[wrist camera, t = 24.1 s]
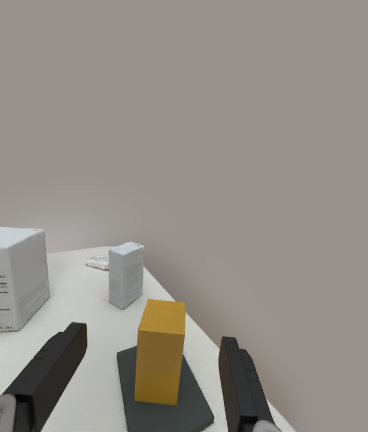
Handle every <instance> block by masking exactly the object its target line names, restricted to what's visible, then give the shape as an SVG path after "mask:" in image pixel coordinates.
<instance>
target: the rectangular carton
mask: <svg viewBox="0 0 368 432" xmlns="http://www.w3.org/2000/svg"><path fill="white" fill-rule="evenodd" d="M49 297H50V292H49V280H48V268H47V257H46V245H45V234H44V229H25V228H10V227H0V331H19V330H20V329H21V328H22V327H23V326H24V325H25V324H26V322H27V321H28V320H29V319H30V318H31V317H32V316H33V315H34V313H35V312H36V311H37V310H38V309H39V308H40V307H41V306H42V304H43V303H44V302H45V301H46V300H47V299H48V298H49Z"/></svg>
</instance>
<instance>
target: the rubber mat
mask: <svg viewBox="0 0 368 432" xmlns="http://www.w3.org/2000/svg"><path fill="white" fill-rule="evenodd" d="M136 360H137V346H135V347H132V348H129V349H126V350H123V351H120V352H118V353H117V361H118V368H119V375H120V381H121V388H122V395H123V402H124V408H125V415H126V422H127V429H128V432H200V431H201V430H203V429H204V428H206V427H207V426H209V425H210V424H212V423H213V421H214V415H213V413H212V411H211V409H210V407H209V405H208V403H207V401H206V399H205V397H204V395H203V393H202V391H201V389H200V387H199V385H198V383H197V381H196V379H195V377H194V375H193V373H192V371H191V369H190V367H189V365H188V363H187V361H186V359H185V357H184V355H182V363H181V372H180V380H179V389H178V398H177V405H168V404H158V403H148V402H139V401H134V400H135V380H136Z"/></svg>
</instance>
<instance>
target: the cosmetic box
mask: <svg viewBox="0 0 368 432" xmlns="http://www.w3.org/2000/svg"><path fill="white" fill-rule="evenodd" d="M143 259H144V246H142V245H139V244H136V243H133V242H128V243H125V244H123V245H120V246H117V247H115V248H112V249H109V302H110V303H112V304H114V305H116V306H118V307H119V308H121V309H124V308H125V307H127V306H128V305H129V304H130V303H132V302H133V301H134V300H135V299H137V298H138V297H139V296H140V295H142V286H143Z"/></svg>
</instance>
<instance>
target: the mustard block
mask: <svg viewBox="0 0 368 432" xmlns="http://www.w3.org/2000/svg"><path fill="white" fill-rule="evenodd" d="M184 337H185V303H181V302H171V301H161V300H151V299H148V301H147V304H146V307H145V310H144V313H143V316H142V319H141V322H140V325H139V329H138V341H137V360H136V380H135V400H134V401H139V402H148V403H158V404H168V405H177V398H178V389H179V380H180V372H181V363H182V355H183V346H184Z"/></svg>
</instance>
